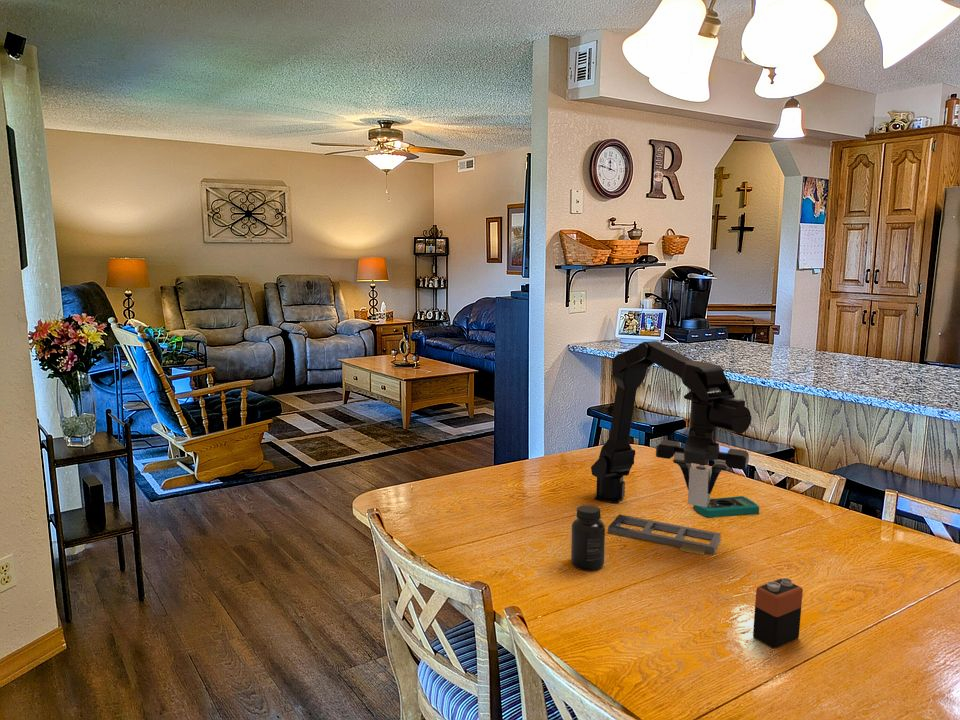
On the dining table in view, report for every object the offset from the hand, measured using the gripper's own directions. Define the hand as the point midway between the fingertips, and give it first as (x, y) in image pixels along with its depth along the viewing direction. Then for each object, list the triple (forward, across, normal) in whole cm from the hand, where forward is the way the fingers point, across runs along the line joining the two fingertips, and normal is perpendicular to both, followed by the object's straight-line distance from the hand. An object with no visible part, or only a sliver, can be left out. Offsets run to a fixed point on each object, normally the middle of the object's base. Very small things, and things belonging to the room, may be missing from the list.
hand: (699, 491), depth 150 cm
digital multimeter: (+13, +3, +24) cm, 27 cm away
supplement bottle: (+12, -18, -22) cm, 31 cm away
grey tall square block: (+2, 0, 0) cm, 3 cm away
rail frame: (+12, -7, 0) cm, 14 cm away
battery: (+12, +19, -33) cm, 40 cm away
